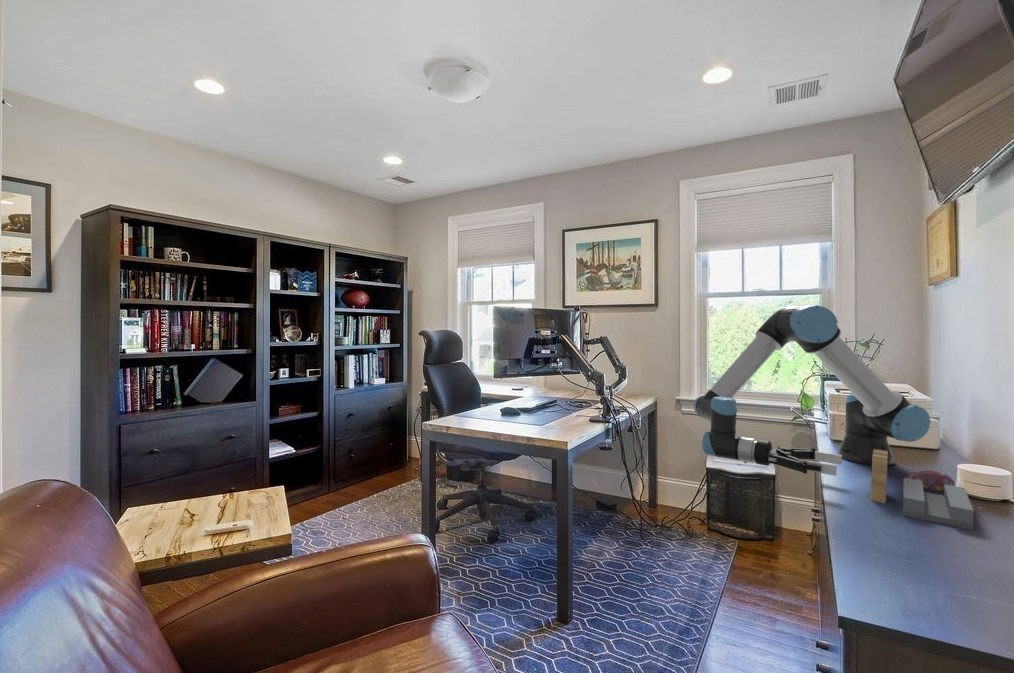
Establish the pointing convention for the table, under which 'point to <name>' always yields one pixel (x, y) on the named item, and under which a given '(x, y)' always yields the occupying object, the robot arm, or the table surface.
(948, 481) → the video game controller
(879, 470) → the oak plank
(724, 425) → the robot arm
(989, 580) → the table surface
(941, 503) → the grooved sill
